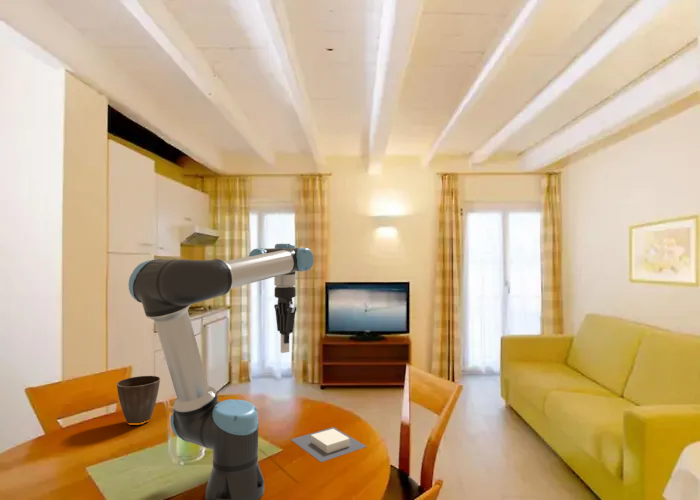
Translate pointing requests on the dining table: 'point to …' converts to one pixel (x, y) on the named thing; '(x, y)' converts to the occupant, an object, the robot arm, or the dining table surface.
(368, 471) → the dining table surface
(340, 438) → the tile
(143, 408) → the plant pot
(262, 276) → the robot arm
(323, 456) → the mat
